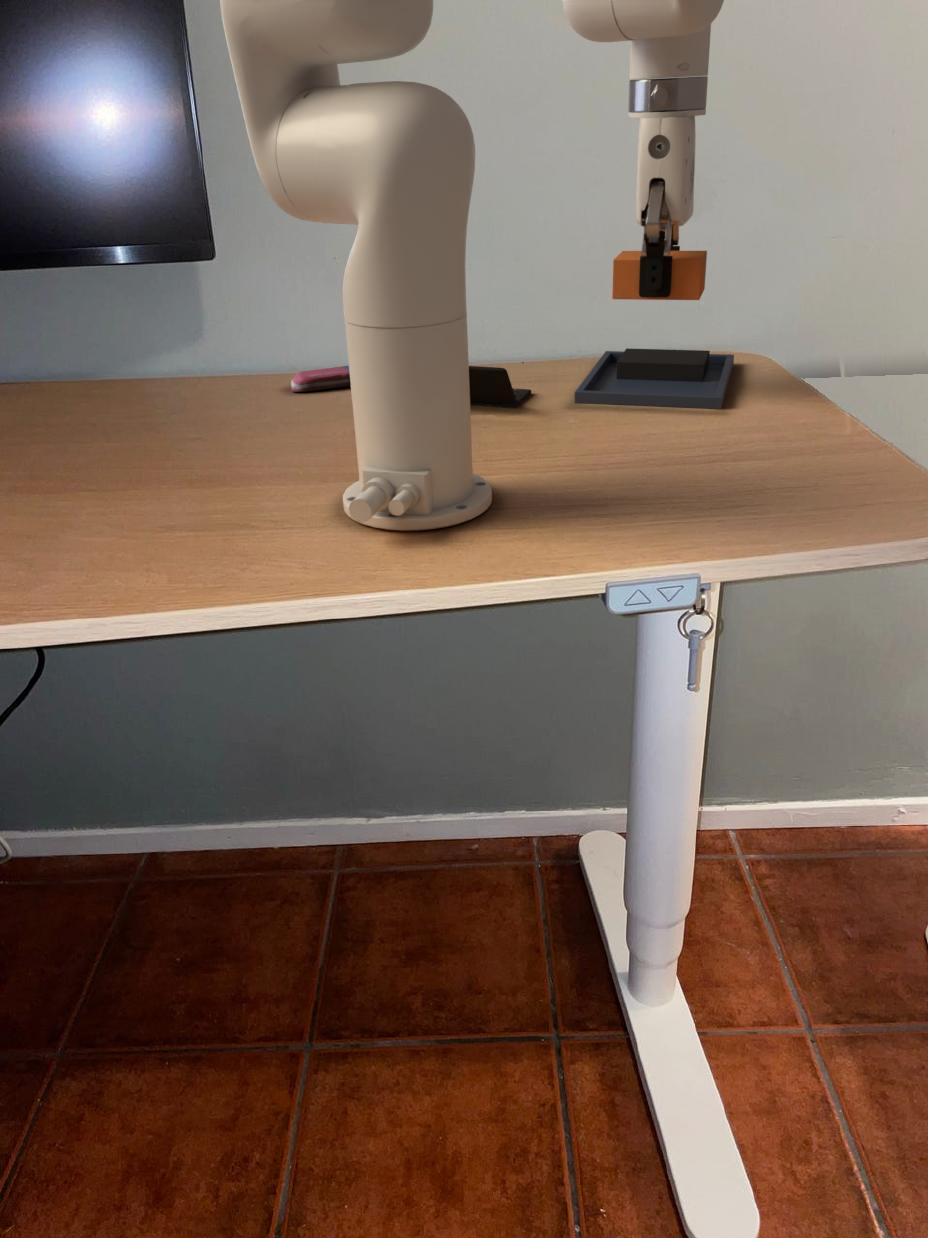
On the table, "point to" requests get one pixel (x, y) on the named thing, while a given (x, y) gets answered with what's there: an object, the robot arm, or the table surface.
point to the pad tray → (655, 386)
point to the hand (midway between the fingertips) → (658, 288)
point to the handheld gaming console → (494, 388)
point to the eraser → (321, 379)
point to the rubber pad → (663, 365)
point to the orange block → (683, 280)
